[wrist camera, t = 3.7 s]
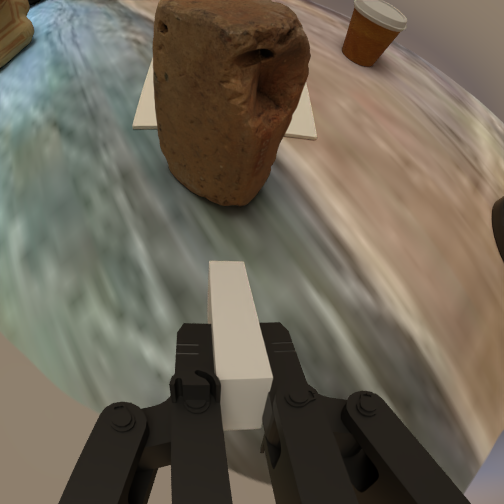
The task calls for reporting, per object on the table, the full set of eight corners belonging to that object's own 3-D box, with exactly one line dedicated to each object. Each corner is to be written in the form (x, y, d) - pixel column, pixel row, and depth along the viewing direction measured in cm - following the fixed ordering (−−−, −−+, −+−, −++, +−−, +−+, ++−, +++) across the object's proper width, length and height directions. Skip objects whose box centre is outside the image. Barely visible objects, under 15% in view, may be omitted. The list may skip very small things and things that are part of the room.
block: (155, 164, 32) (137, -5, 13) (205, 127, 34) (222, -30, 16) (228, 229, 31) (274, 61, 12) (275, 184, 33) (348, 28, 15)
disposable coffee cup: (323, 44, 45) (345, -8, 34) (354, 39, 48) (376, -6, 37) (361, 76, 43) (392, 24, 32) (390, 68, 46) (418, 24, 35)
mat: (300, 63, 41) (301, 61, 41) (315, 140, 36) (317, 137, 36) (155, 52, 38) (155, 49, 37) (133, 129, 33) (132, 125, 32)
